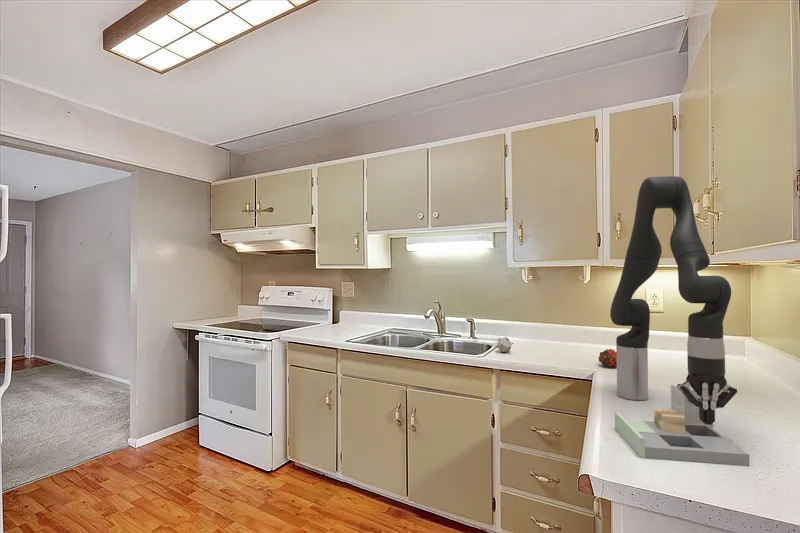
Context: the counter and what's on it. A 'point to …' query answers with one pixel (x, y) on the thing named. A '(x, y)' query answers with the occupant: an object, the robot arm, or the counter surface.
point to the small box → (685, 406)
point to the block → (669, 421)
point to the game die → (504, 345)
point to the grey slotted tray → (679, 443)
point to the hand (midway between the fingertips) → (707, 423)
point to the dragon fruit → (608, 358)
